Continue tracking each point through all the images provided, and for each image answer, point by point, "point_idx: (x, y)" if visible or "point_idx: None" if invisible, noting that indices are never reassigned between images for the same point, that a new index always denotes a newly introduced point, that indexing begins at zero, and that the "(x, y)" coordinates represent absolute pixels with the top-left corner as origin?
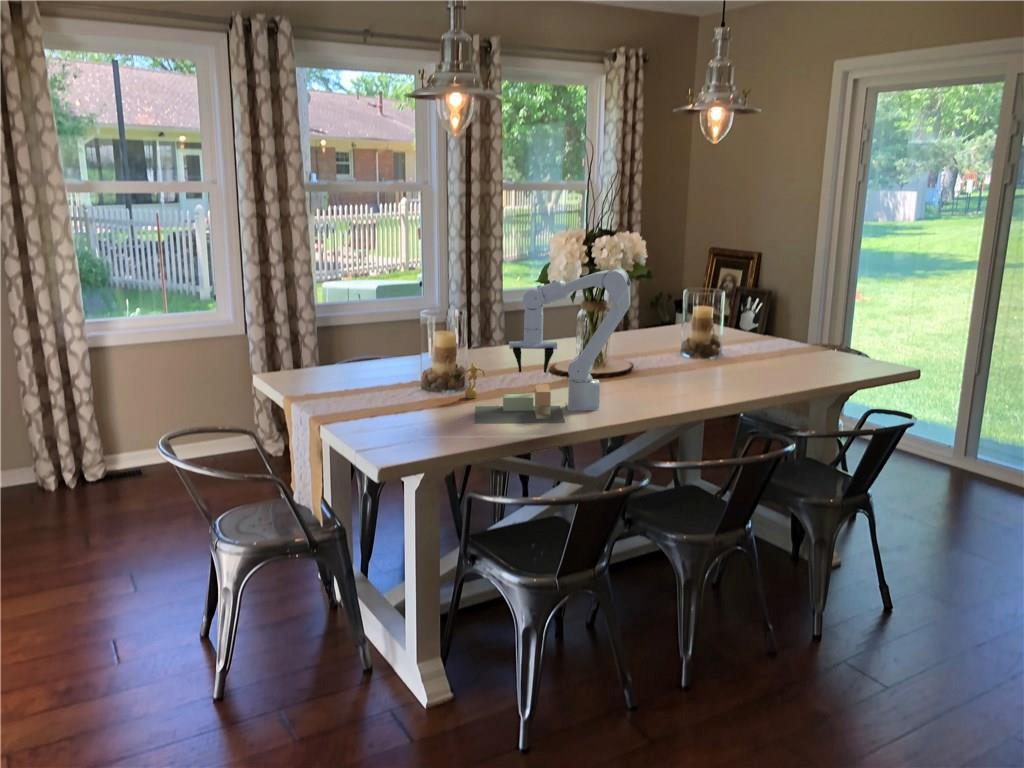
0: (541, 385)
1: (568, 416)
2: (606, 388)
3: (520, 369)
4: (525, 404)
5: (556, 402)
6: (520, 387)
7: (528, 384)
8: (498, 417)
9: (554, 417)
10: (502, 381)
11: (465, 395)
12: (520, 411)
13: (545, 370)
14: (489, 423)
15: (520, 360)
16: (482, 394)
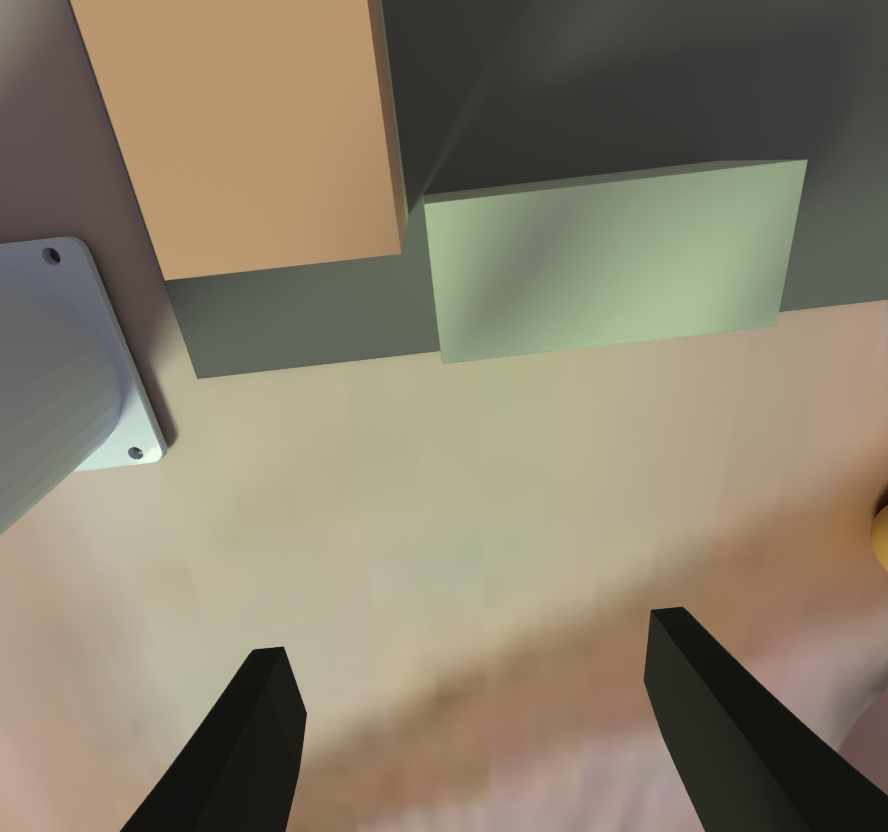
0: (271, 166)
1: (25, 31)
2: (12, 785)
3: (690, 642)
4: (509, 189)
5: (259, 495)
6: (532, 750)
7: (486, 796)
8: None
9: None
10: (628, 820)
11: None
12: (549, 142)
13: (249, 675)
14: None
15: (821, 826)
16: (786, 614)
